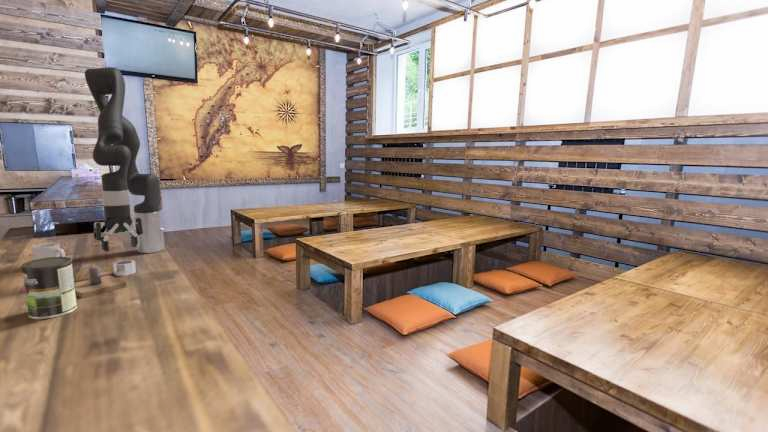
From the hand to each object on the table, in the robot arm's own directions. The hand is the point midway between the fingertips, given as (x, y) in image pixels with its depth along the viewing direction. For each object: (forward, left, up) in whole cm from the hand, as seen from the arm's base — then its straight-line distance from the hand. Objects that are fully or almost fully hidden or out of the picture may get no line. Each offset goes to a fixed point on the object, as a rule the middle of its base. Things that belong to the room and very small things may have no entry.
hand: (120, 249), depth 135 cm
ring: (-1, 0, -9) cm, 9 cm away
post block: (+11, +9, -9) cm, 17 cm away
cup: (+11, -30, -9) cm, 33 cm away
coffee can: (+25, +20, -9) cm, 34 cm away
